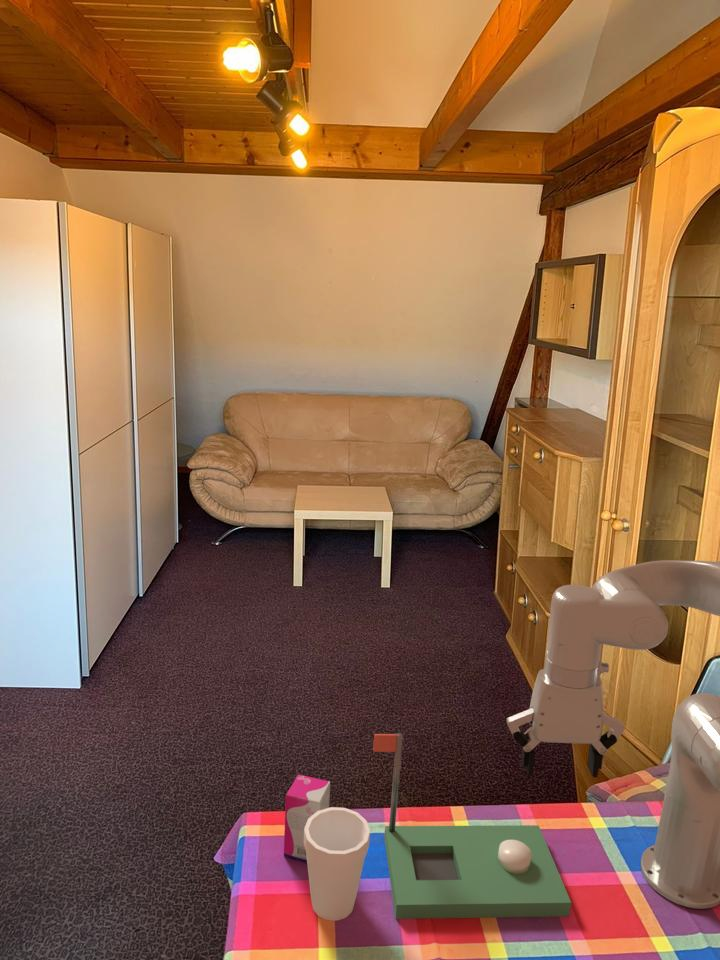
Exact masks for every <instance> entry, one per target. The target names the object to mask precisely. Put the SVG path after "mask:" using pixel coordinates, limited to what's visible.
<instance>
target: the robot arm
mask: <svg viewBox="0 0 720 960" xmlns="http://www.w3.org/2000/svg"><path fill="white" fill-rule="evenodd" d="M660 606H678V607H679V606H680V607H687V608H692V609H696V610H699V611H702V612H705V613H706V614H707V613H708V614H710V615H714V616H717V617H720V560H717V561H709V560H680V559H679V560H674V559H672V560H669V559H668V560H667V559H664V560H663V559H661V560H651V561H646V562H641V563H637V564H634V565H629V566H625V567H621V568H617V569H614V570H612V571H609V572H607V573H605V574H603V575H602V576H601V577H599V578H598V579H597V580H596V581H595V582H594V584H593V585H592V587H590V586H586V585H582V584H566V585H565V584H564V585H561V586H559V587H558V588H556V589H555V591H554V592H553V594H552V596H551V603H550V611H549V612H550V613H549V622H548V623H549V624H548V630H547V632H548V633H547V640H546V641H547V642H546V643H547V644H546V649H545V650H546V652H545V662H544V668H542V669H541V668H540V670H538V673H537V676H536V679H535V681H534V682H535V683H534V686H533V690H532V694H531V698H530V705H529V708H528V709H526V710H524V711H522V712H519V713H516V714H513V715H512V716H509V717H507V718H506V720H505V721H506V724H507V727H508V729H509V731H510V733H511V734H512V736H513V739H514V740H515V742H516V743H518V745H520V746H521V756H520V757H521V759H520V761H521V765H522V767H525V770H526V773H527V776H532V775H533V774H534V768H535V767H534V765H535V758H536V757H535V756H536V753H535V750H534V748H536V747H537V745H539V744H540V743H541V742H542V743H554V744H555V743H559V744H560V743H561V744H562V743H563V744H589V747H588V755H587V756H588V757H587V761H586V762H587V767H588V770H589V772H590V775H591V777H593V778H598V777H599V776H598V775H599V770H601V769H602V766H603V757H604V755H606V754H607V753H608V749H610V748H611V747H613V746H614V745H615V744H616V743H617V742H618V738H620V737H621V735H622V734H623V733H624V732H625V730H626V727H625V725H624V724H623V721H621V720H619V719H617V718H615V717H614V716H612V715H610V714H608V713H606V712H604V692H603V685H602V679H601V674H604V673H609V672H610V671H609V670H610V667H609V663H608V662H603V661H601V655H602V645H607V646H611V647H617V648H622V649H626V650H633V651H646V650H650V649H653V648H655V647H657V646H659V644H661V643H662V642H663V641H664V640H665V639H666V637H667V635H668V631H669V622H668V618H667V617H666V616H667V615H666V614H665V612H664V611H663V609H662V608H661V607H660ZM525 724H528V725H529V726H530V727H529V728H527V730H526V731H525V732H523V730H521V729H520V728H519V727H520V726H523V725H525ZM603 726H606V727H608V728H609V730H608V731H605V733H604V734H602V733H603V728H604V727H603ZM670 736H671V749H670V750H671V753H670V762H669V763H670V764H669V770H668V776H667V781H666V787H665V792H664V797H663V802H662V806H661V812H660V817H659V821H658V828H657V832H656V837H655V842H654V843H655V844H652V845H651V846H649V847H646V849H645V850H644V851H643V853H642V855H641V859H640V869H641V874H642V875H643V877H644V879H645V880H646V882H647V883H648V885H650V887H651V888H653V890H655V892H657V893H658V894H659V895H661V896H662V897H664V898H666V899H667V900H669V901H671V902H673V903H675V904H677V905H678V906H679V905H680V906H682V907H686V908H690V909H699V910H700V909H701V910H704V909H705V910H706V909H712V908H715V907H717V906H718V905H720V696H718V695H716V694H712V693H709V692H708V693H707V692H700V693H695V694H691V695H690V696H687V697H686V698H685V699H684V700H682V701H681V702H680V703H679V705H678V706H677V708H676V709H675V712H674V714H673V717H672V723H671V735H670Z"/></svg>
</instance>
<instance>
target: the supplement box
mask: <svg viewBox="0 0 720 960" xmlns="http://www.w3.org/2000/svg"><path fill="white" fill-rule="evenodd" d="M330 792H331V781H330V780H325V779H320V778H315V777H311V776H307V775H302V774H297V776H296V778H295V779H294V781H293V782H292V785H291V786H290V787H289V789H288V791H287V793H286V794H285V803H284V804H285V805H284V806H285V808H284V809H285V810H284V835H283V836H284V838H283V841H284V842H283V856H284V857H285V858H289V859H293V860H297V861H300V862H305V863H307V856H306V850H305V846H304V828H305V826H306V823H307V820H308V818H310V817H311V816H312V815H313V814H315V813H316V812H317V811H320V810H323V809H326V808H330V796H331V794H330Z"/></svg>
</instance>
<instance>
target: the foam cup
mask: <svg viewBox="0 0 720 960" xmlns="http://www.w3.org/2000/svg"><path fill="white" fill-rule="evenodd" d="M370 840H371V829H370V826H369V822H368V820H367V819H365V818H364V817H363V816H362V815H361V814H360V813H359V812H357V811H355V810H352V809H349V808H346V807H335V806H334V807H333V806H331V807H330V806H329V808H326V809H323V810H320V811H317V812H316V813H315V814H313V815H312V816H311V817H310V818H308V820H307V823H306V826H305V828H304V846H305V850H306V856H307V862H306V863H307V872H308V881H309V882H308V883H309V890H310V891H309V892H310V900H311V905H312V910H313V911H314V913H315V914H316V915H317V916H318V917H320V919H321V918H322V919H324V920H326V921H338V922H339V921H340V920H343V919H346V918H347V917H348V916H349V915H350V914H352V912H353V911H354V908H355V903H356V899H357V894H358V889H359V884H360V882H361V876H362V872H363V867H364V864H365V863H364V862H365V858H366V856H367V854H368V850H369V847H370Z"/></svg>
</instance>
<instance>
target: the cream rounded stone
mask: <svg viewBox="0 0 720 960" xmlns="http://www.w3.org/2000/svg"><path fill="white" fill-rule="evenodd" d="M530 862H531V851H530V849H529V847H528V846H527V845H525V844H524V843H522V842H520V841H517V840H505V841H503V842H502V843H501V844H500V846H499V852H498V863H499V865H500V866H501V867H502V868H503V869H504V870H506V871H508V872H510V873H513V874H523V873H525V872H527V871H528V870H529V868H530Z"/></svg>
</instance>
